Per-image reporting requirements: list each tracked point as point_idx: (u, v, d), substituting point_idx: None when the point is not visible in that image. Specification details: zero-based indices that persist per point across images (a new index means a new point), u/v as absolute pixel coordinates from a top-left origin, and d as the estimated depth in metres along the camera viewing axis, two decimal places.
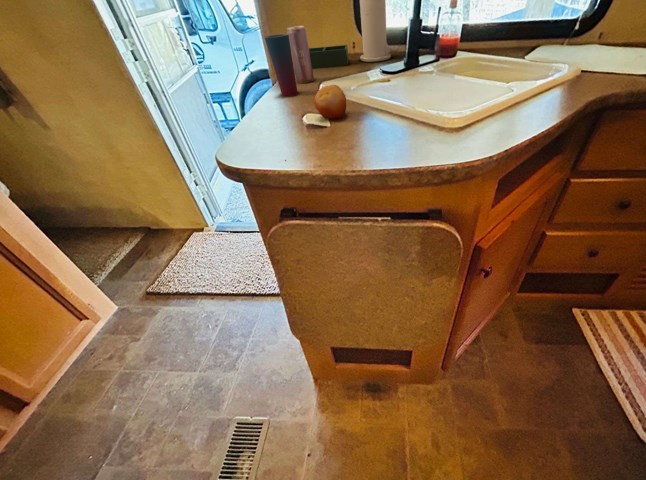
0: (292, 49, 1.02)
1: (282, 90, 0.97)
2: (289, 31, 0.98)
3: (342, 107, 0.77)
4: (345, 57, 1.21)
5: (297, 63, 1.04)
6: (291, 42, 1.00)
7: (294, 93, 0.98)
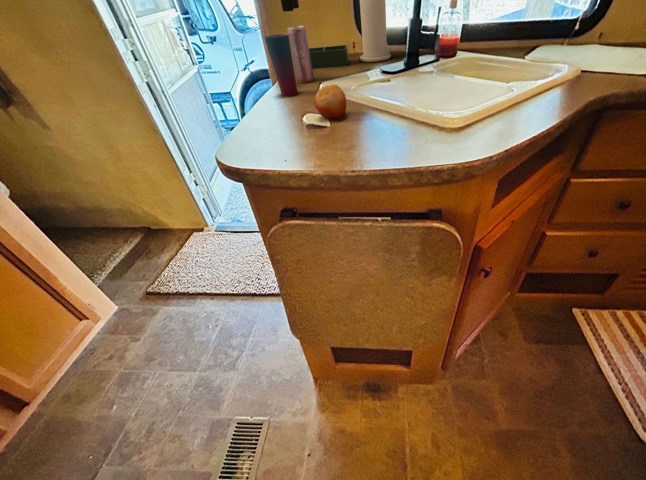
0: (292, 49, 1.02)
1: (282, 90, 0.97)
2: (289, 31, 0.98)
3: (342, 107, 0.77)
4: (345, 57, 1.21)
5: (297, 63, 1.04)
6: (291, 42, 1.00)
7: (294, 93, 0.98)
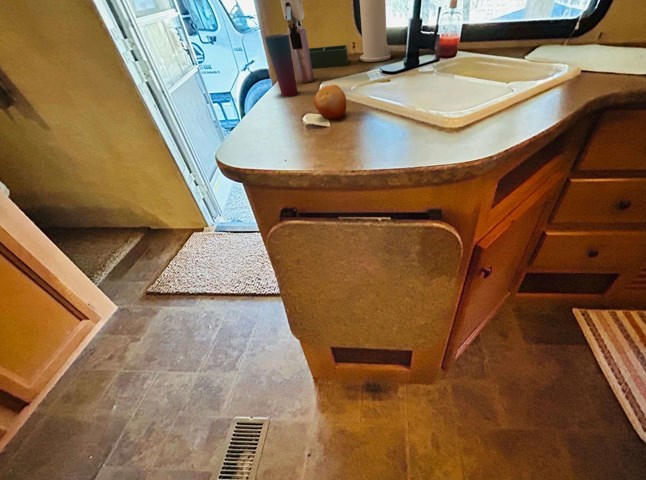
0: (292, 49, 1.02)
1: (282, 90, 0.97)
2: None
3: (342, 107, 0.77)
4: (345, 57, 1.21)
5: (297, 63, 1.04)
6: None
7: (294, 93, 0.98)
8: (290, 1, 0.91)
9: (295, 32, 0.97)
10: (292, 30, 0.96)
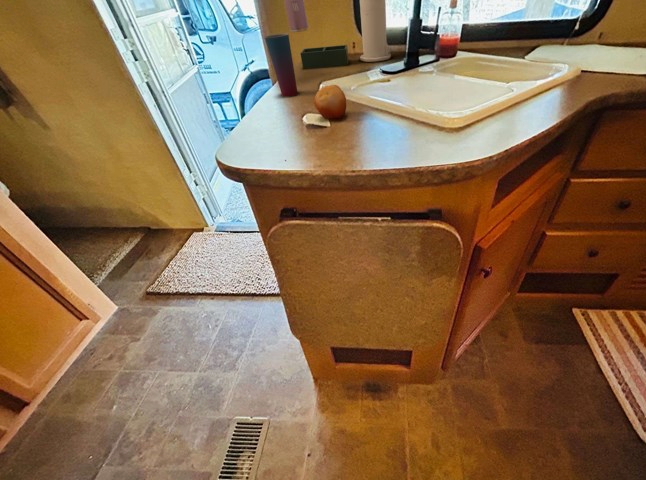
0: None
1: (282, 90, 0.97)
2: None
3: (342, 107, 0.77)
4: (345, 57, 1.21)
5: (290, 9, 0.96)
6: None
7: (294, 93, 0.98)
8: None
9: None
10: None
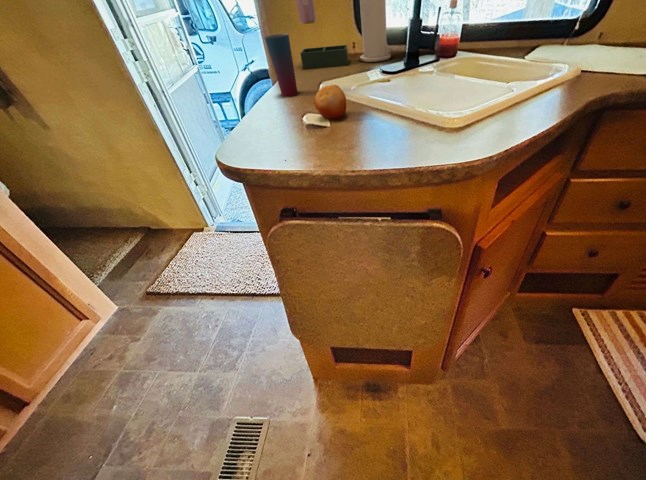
0: None
1: (282, 90, 0.97)
2: None
3: (342, 107, 0.77)
4: (345, 57, 1.21)
5: (300, 3, 1.10)
6: None
7: (294, 93, 0.98)
8: None
9: None
10: None
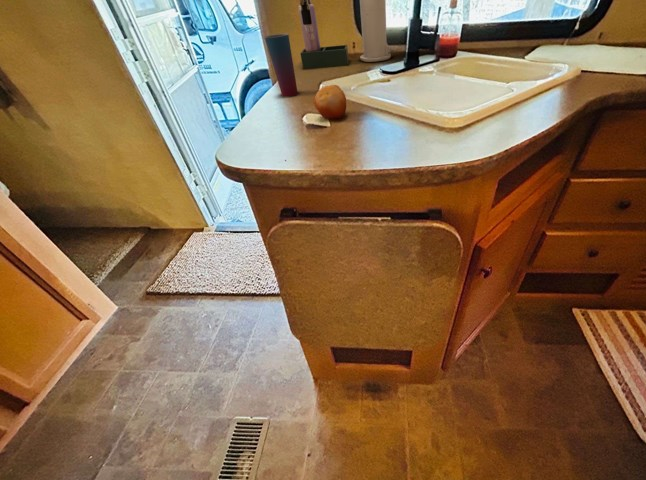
0: (302, 25, 1.16)
1: (282, 90, 0.97)
2: (300, 8, 1.13)
3: (342, 107, 0.77)
4: (345, 57, 1.21)
5: (307, 38, 1.18)
6: None
7: (294, 93, 0.98)
8: None
9: (306, 9, 1.11)
10: (303, 7, 1.10)
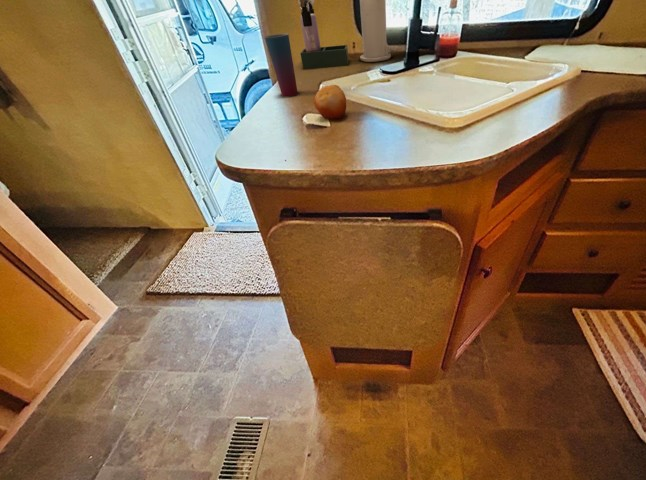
0: (304, 34, 1.18)
1: (282, 90, 0.97)
2: None
3: (342, 107, 0.77)
4: (345, 57, 1.21)
5: (308, 46, 1.20)
6: (303, 27, 1.17)
7: (294, 93, 0.98)
8: None
9: (306, 10, 1.10)
10: (303, 9, 1.09)
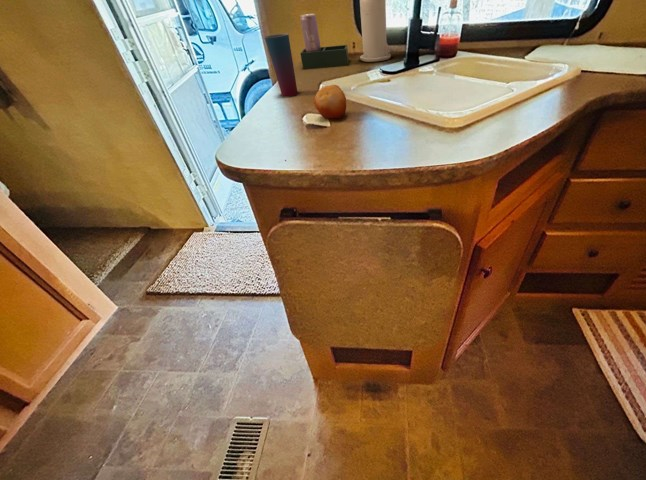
0: (304, 34, 1.18)
1: (282, 90, 0.97)
2: (302, 17, 1.15)
3: (342, 107, 0.77)
4: (345, 57, 1.21)
5: (308, 46, 1.20)
6: (303, 27, 1.17)
7: (294, 93, 0.98)
8: None
9: None
10: None
